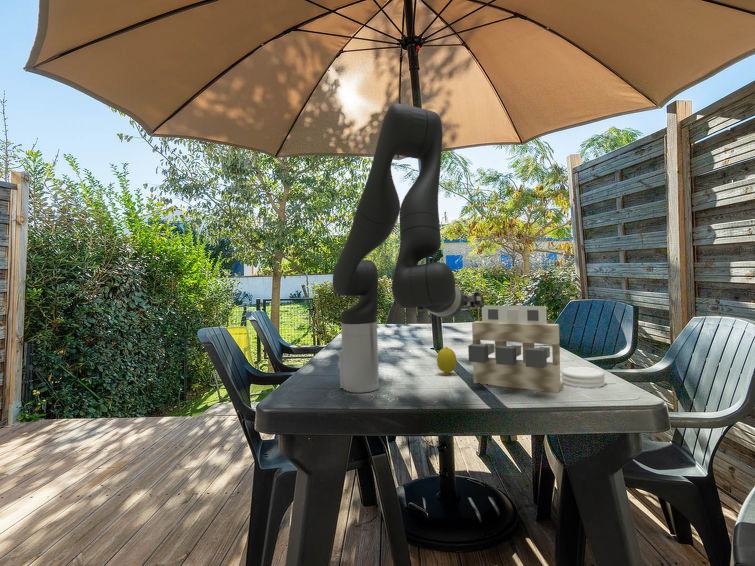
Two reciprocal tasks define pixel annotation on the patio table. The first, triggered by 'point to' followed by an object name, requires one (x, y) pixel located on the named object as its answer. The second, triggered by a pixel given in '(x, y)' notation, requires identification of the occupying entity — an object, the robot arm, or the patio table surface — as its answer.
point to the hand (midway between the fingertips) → (455, 306)
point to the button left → (480, 352)
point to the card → (514, 314)
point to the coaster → (583, 377)
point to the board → (518, 372)
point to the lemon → (446, 360)
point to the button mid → (507, 354)
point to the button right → (537, 357)
